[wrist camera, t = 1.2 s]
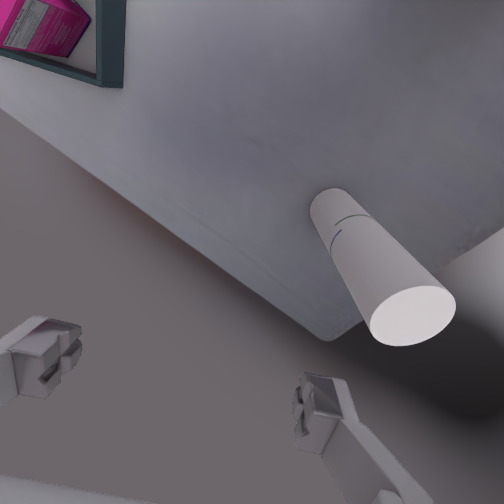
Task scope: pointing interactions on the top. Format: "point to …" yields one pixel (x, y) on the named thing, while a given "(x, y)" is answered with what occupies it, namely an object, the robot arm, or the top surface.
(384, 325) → the cylindrical container
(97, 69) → the case
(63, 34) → the supplement box
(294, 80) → the top surface
